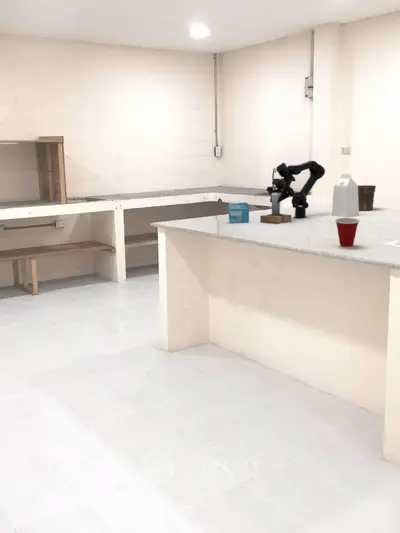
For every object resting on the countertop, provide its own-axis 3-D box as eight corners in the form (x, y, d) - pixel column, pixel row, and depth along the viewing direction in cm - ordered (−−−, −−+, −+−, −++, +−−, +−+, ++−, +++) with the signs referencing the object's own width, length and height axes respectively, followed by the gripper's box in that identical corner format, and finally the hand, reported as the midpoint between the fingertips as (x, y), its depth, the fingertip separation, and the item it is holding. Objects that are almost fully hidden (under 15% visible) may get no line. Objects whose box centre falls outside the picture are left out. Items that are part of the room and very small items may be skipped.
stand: (275, 219, 352) (275, 212, 351) (291, 221, 342) (291, 214, 341) (260, 222, 344) (260, 214, 343) (276, 224, 334) (276, 216, 333)
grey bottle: (278, 213, 345) (278, 192, 343) (281, 214, 340) (281, 192, 338) (270, 214, 344) (270, 192, 342) (273, 215, 340) (272, 193, 337)
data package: (229, 223, 345) (228, 203, 343) (228, 222, 350) (228, 202, 347) (249, 222, 345) (248, 202, 343) (248, 221, 350) (247, 202, 347)
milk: (358, 215, 358) (359, 173, 352) (346, 217, 351) (347, 174, 346) (344, 214, 367) (344, 173, 362) (331, 215, 361) (332, 174, 356)
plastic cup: (338, 248, 254) (339, 221, 251) (331, 244, 264) (331, 218, 262) (362, 247, 254) (363, 220, 252) (354, 242, 265) (355, 217, 262)
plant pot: (347, 209, 391) (347, 185, 388) (369, 208, 393) (370, 184, 389) (356, 212, 375) (356, 187, 372) (379, 210, 377) (380, 186, 373)
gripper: (268, 173, 347) (255, 193, 342) (291, 173, 333) (279, 194, 328) (276, 185, 353) (265, 204, 349) (300, 186, 340) (288, 206, 335)
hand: (274, 202), depth 340 cm, fingers open, 5 cm apart
